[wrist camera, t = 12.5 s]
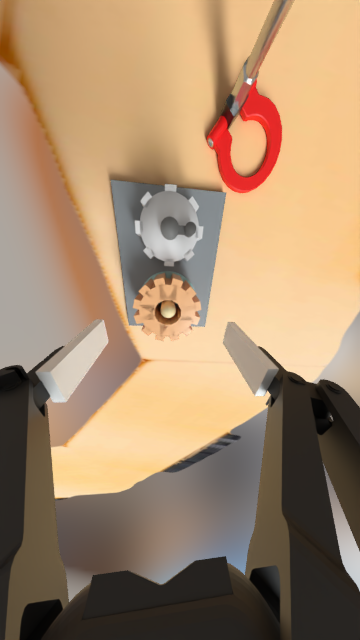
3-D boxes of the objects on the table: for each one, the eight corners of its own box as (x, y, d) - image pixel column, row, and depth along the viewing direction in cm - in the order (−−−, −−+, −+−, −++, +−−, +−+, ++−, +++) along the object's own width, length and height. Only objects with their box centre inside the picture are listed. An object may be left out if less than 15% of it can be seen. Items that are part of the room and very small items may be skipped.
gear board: (113, 183, 18) (82, 143, 12) (223, 195, 20) (249, 165, 13) (130, 323, 28) (118, 343, 21) (203, 324, 29) (213, 343, 23)
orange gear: (142, 324, 27) (136, 340, 21) (138, 271, 22) (129, 276, 17) (191, 324, 28) (197, 341, 22) (197, 274, 23) (205, 279, 18)
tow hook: (285, 152, 19) (250, 70, 15) (476, -2, 7) (513, -480, 4) (239, 208, 21) (199, 148, 18) (327, 158, 10) (264, -41, 6)
